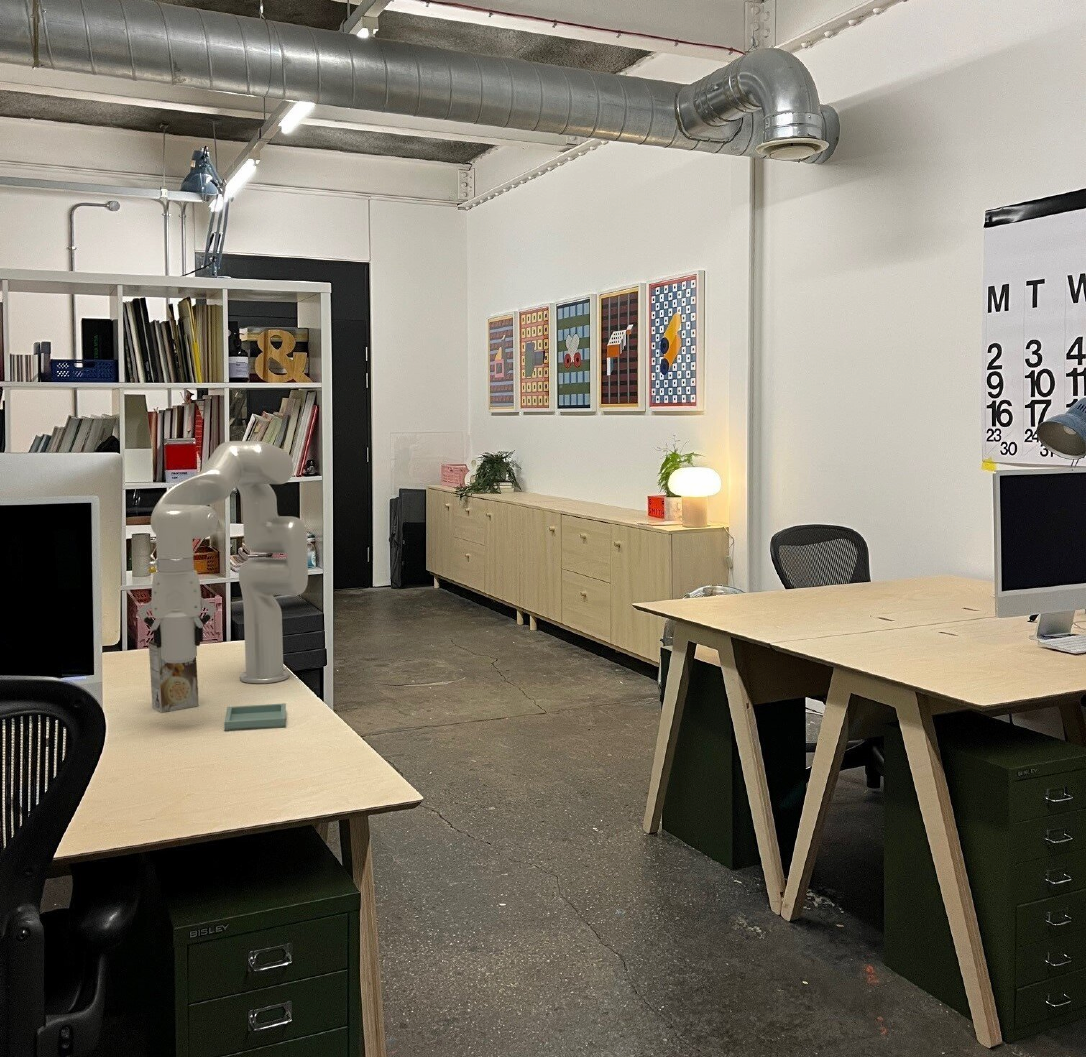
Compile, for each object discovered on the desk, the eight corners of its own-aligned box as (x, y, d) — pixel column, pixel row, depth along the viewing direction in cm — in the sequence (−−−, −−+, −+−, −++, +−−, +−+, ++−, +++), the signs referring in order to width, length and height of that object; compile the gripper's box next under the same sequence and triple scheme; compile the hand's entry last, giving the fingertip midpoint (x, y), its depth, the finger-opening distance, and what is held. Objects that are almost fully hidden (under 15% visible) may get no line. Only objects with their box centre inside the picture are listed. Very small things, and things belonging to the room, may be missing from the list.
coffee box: (188, 700, 265) (186, 635, 264) (199, 706, 260) (196, 639, 259) (150, 707, 260) (148, 640, 258) (161, 713, 255) (158, 645, 253)
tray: (227, 715, 253) (227, 706, 252) (285, 711, 255) (285, 703, 255) (224, 731, 240) (224, 722, 240) (285, 727, 243) (285, 718, 243)
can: (204, 658, 242) (202, 605, 241) (177, 665, 236) (175, 610, 234) (181, 654, 246) (178, 601, 245) (153, 661, 240) (151, 607, 238)
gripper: (130, 569, 233) (134, 651, 235) (216, 566, 237) (219, 647, 239) (135, 564, 240) (139, 644, 242) (218, 561, 244) (221, 640, 246)
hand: (178, 645), depth 240 cm, fingers closed on can, 7 cm apart
